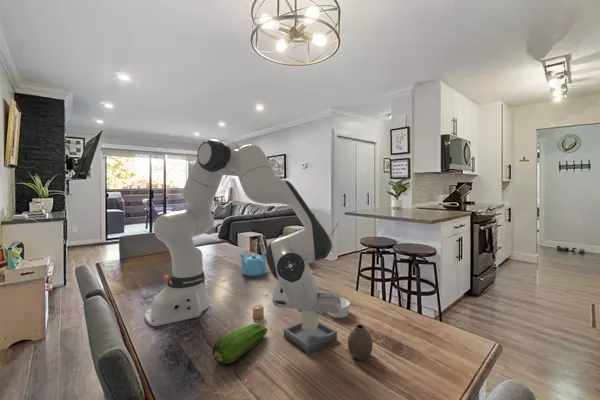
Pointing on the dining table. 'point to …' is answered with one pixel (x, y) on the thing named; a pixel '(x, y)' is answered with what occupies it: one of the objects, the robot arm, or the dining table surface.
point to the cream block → (310, 320)
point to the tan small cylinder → (258, 312)
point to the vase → (360, 343)
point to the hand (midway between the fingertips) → (310, 310)
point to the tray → (310, 336)
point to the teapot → (253, 265)
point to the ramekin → (342, 309)
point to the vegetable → (237, 343)
